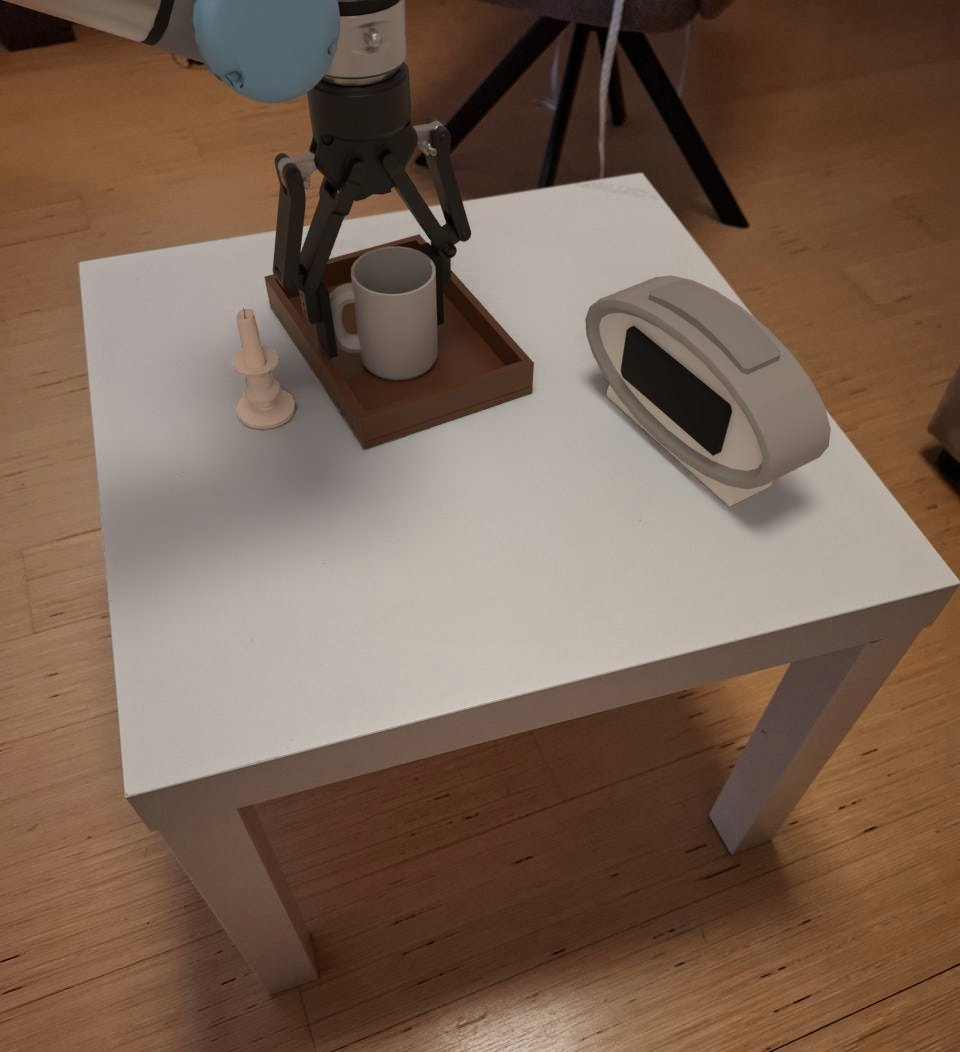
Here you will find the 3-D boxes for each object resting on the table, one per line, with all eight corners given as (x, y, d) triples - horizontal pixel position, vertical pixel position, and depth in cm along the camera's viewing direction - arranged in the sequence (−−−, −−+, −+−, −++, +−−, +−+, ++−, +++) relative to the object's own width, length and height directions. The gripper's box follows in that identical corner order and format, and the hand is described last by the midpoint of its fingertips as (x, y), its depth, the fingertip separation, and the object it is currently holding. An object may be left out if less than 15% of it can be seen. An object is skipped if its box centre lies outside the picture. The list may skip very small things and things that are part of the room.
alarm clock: (577, 379, 87) (590, 251, 76) (630, 357, 89) (650, 229, 78) (748, 535, 75) (791, 408, 65) (805, 506, 77) (855, 378, 67)
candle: (244, 435, 82) (218, 333, 74) (231, 399, 85) (204, 296, 76) (302, 421, 83) (283, 318, 75) (287, 386, 86) (267, 283, 78)
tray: (270, 306, 93) (263, 276, 91) (421, 263, 98) (419, 233, 95) (364, 450, 81) (360, 419, 78) (532, 393, 85) (534, 362, 83)
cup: (444, 377, 85) (442, 291, 78) (334, 390, 84) (321, 303, 77) (431, 329, 90) (428, 242, 82) (326, 340, 88) (314, 253, 81)
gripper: (221, 119, 62) (279, 393, 80) (518, 52, 68) (510, 320, 86) (187, 75, 66) (250, 345, 84) (471, 15, 72) (472, 278, 90)
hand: (381, 332), depth 85 cm, fingers closed on cup, 10 cm apart
